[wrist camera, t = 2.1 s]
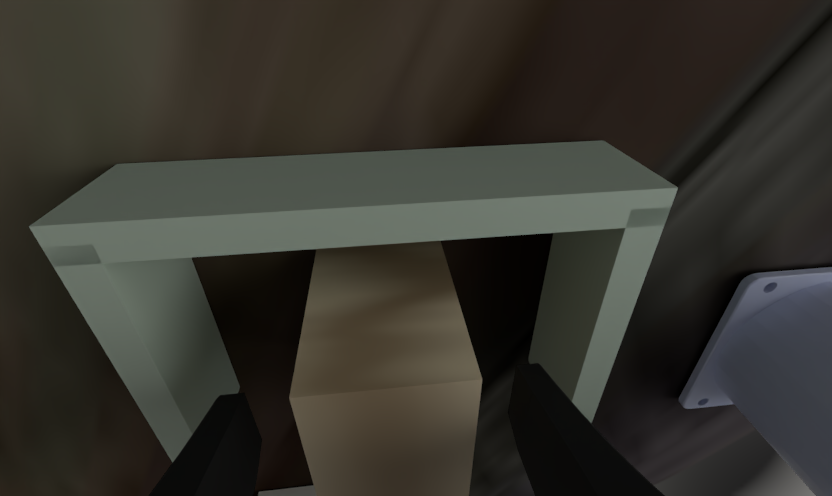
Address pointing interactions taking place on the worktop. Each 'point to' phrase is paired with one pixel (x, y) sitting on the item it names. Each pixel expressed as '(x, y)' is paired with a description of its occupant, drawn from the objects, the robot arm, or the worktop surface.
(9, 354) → the worktop surface
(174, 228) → the arch
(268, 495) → the coaster
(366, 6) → the worktop surface
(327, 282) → the maple block
